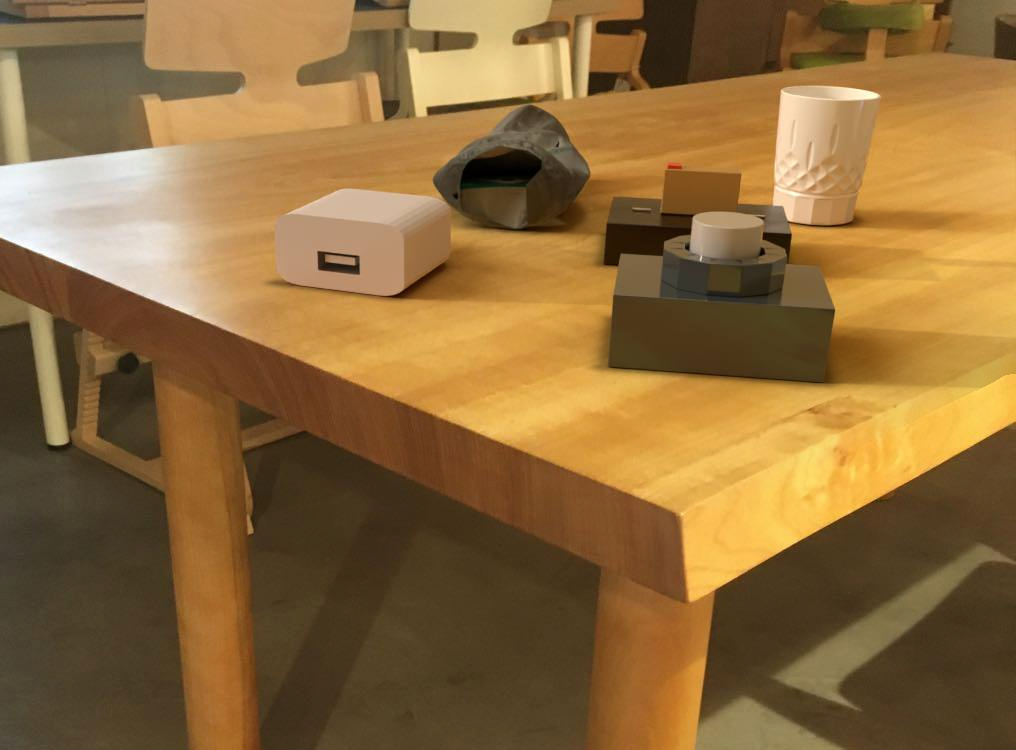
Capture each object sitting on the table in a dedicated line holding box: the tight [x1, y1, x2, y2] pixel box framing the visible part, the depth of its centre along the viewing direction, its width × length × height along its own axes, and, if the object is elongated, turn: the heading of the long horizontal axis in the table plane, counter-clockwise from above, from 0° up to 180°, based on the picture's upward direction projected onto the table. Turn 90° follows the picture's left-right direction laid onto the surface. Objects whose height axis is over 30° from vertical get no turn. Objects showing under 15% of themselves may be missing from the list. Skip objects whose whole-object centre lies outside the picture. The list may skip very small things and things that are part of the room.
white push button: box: [689, 212, 764, 260], centre depth 71 cm, size 4×4×2 cm
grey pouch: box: [432, 104, 591, 230], centre depth 107 cm, size 13×7×25 cm
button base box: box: [607, 235, 836, 383], centre depth 72 cm, size 12×9×6 cm
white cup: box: [772, 85, 882, 226], centre depth 103 cm, size 8×8×10 cm
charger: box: [273, 188, 452, 297], centre depth 88 cm, size 5×9×15 cm
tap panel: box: [603, 196, 793, 266], centre depth 93 cm, size 13×10×3 cm
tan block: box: [661, 161, 742, 215], centre depth 91 cm, size 6×2×3 cm, turn 81°
